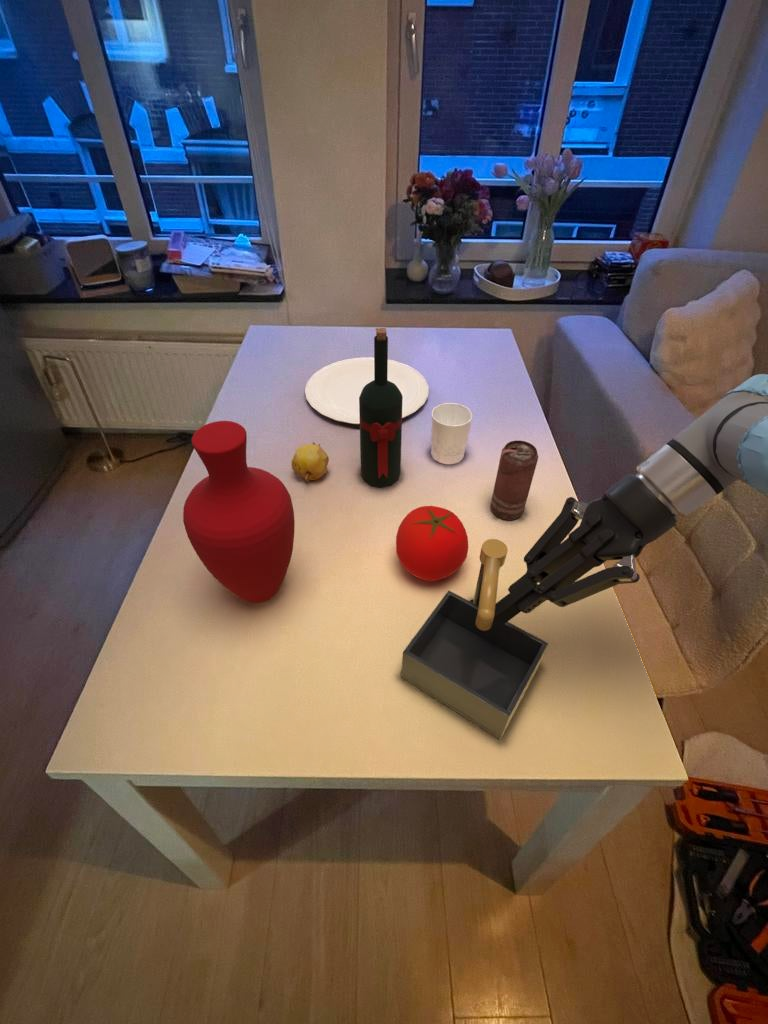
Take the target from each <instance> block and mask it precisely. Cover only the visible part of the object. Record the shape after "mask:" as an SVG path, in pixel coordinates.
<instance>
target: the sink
mask: <svg viewBox="0 0 768 1024" xmlns="http://www.w3.org/2000/svg"><path fill="white" fill-rule="evenodd" d="M478 607H479V606H477V605H476V604H474V603H472V602H470V600H468V599H466V598H465V597H462V596H460V595H459V594H456V593H455V592H453V591H452V590H448V591H447V592H446V593H445V594H444V596H443V598H441V600H440V601H439V602H438V604H437V605H436V607H435V608H434V609H433V610H432V612H431V613H430V615H429V616H428V617H427V619H426V620H425V622H424V623H423V624H422V625H421V627H420V628H419V629H418V630H417V632H416V634H415V635H414V637H412V639H410V641H409V643H408V644H407V645H406V647H405V649H403V651H402V659H401V661H402V662H401V679H403V680H405V681H407V682H408V683H409V684H411V685H412V686H414V687H416V689H417V688H418V689H419V690H421V691H422V692H423V693H425V694H427V695H428V696H430V697H432V698H433V699H435V700H436V701H438V702H439V703H441V704H442V705H444V706H445V707H448V708H449V709H450V710H452V711H454V712H456V713H457V714H459V716H461V717H463V718H465V719H466V720H468V721H469V722H471V723H473V724H474V725H476V726H477V727H479V728H481V729H482V730H484V731H485V732H487V733H489V734H490V735H492V736H493V737H495V738H496V739H498V740H501V739H502V737H503V736H504V733H505V731H506V730H507V728H508V726H509V724H510V722H511V721H512V718H513V717H514V715H515V713H516V711H517V708H518V706H519V705H520V703H521V701H522V699H523V697H524V696H525V693H526V692H527V690H528V688H529V686H530V684H531V683H532V680H533V679H534V677H535V675H536V672H537V671H538V669H539V666H540V664H541V662H542V660H543V657H544V655H545V652H546V650H547V648H548V646H549V642H547V641H546V640H543V639H542V638H539V637H537V636H536V635H534V634H532V633H530V632H528V631H527V630H525V629H523V628H520V627H519V626H517V625H515V624H514V623H511V622H510V621H508V622H506V623H505V624H504V623H501V622H499V621H497V620H495V619H493V623H492V626H491V628H490V629H489V630H487V631H483V630H480V629H478V628H477V626H476V618H477V614H478Z"/></svg>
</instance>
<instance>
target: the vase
mask: <svg viewBox="0 0 768 1024" xmlns="http://www.w3.org/2000/svg"><path fill="white" fill-rule="evenodd" d="M247 442H248V435H247V430H246V428H245V427H244V426H243V425H242V424H240V423H238V422H236V421H231V420H217V421H213V422H209V423H206V424H204V425H202V426H200V427H199V428H198V429H197V430H196V431H195V432H194V433H193V435H192V437H191V444H192V447H193V449H194V450H195V452H196V454H197V455H198V457H199V458H200V460H201V463H203V465H204V467H205V469H206V471H207V474H208V475H207V476H206V477H204V478H202V479H201V480H200V481H199V482H198V483H197V484H195V486H194V487H193V488H192V489H191V491H190V492H189V494H188V495H187V497H186V499H185V502H184V505H183V510H182V511H183V513H182V522H183V525H184V529H185V532H186V535H187V539H188V540H189V542H190V545H191V546H192V549H193V551H194V552H195V553H196V555H197V557H198V558H199V560H200V561H201V563H202V564H203V565H204V567H205V568H206V570H207V571H208V572H209V574H211V576H212V577H213V578H214V579H215V580H216V581H217V582H218V583H220V584H221V585H222V586H223V587H224V588H225V589H226V590H227V591H229V592H230V593H231V594H233V595H235V596H236V597H238V598H239V599H240V600H242V601H244V602H246V603H250V604H260V603H264V602H267V601H269V600H270V599H272V598H273V597H274V596H275V595H277V593H278V592H279V590H280V588H281V586H282V584H283V582H284V580H285V577H286V575H287V572H288V569H289V566H290V563H291V560H292V556H293V550H294V542H295V521H296V520H295V511H294V505H293V501H292V497H291V494H290V492H289V491H288V489H287V487H286V486H285V484H284V482H283V481H282V480H281V479H280V478H278V477H277V476H276V475H274V474H273V473H271V472H269V471H267V470H265V469H262V468H258V467H250V466H248V461H247V444H248V443H247Z"/></svg>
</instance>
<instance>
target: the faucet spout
mask: <svg viewBox="0 0 768 1024" xmlns="http://www.w3.org/2000/svg"><path fill="white" fill-rule="evenodd" d="M508 550H509V549H508V546H507V544H505V542H504V541H502V540H500V539H496V538H489V539H486V540H485V541H483V542H482V544H481V549H480V553H479V562H480V564H481V563H482V564H483V565H484V571H483V578H482V585H481V593H480V600H479V607H478V614H477V618H476V626H477V628H478V629H480V630H483V631H487V630H489V629H490V628H491V626H492V623H493V619H494V614H495V605H496V603H497V595H498V586H499V576H500V570H501V567H503V566H504V565H505V563H506V558H507V555H508ZM499 569H500V570H499Z"/></svg>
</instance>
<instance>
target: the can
mask: <svg viewBox="0 0 768 1024" xmlns="http://www.w3.org/2000/svg"><path fill="white" fill-rule="evenodd" d="M538 461H539V454H538V449H537V448H536V446H535V445H533V444H532V443H530V442H528V441H526V440H511V441H509V442H507V443H506V444H505V445H504V446H503V448H502V449H501V453H500V457H499V462H498V467H497V472H496V477H495V481H494V486H493V491H492V495H491V501H490V505H489V506H490V510H491V511H492V513H493V514H494V515H495V516H496V517H497V518H500V519H501V520H504V521H512V520H516V519H518V518H520V517H521V516H522V515H523V514H524V511H525V508H526V505H527V500H528V497H529V493H530V490H531V486H532V484H533V483H532V482H533V479H534V475H535V473H536V472H535V471H536V468H537V465H538Z"/></svg>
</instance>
